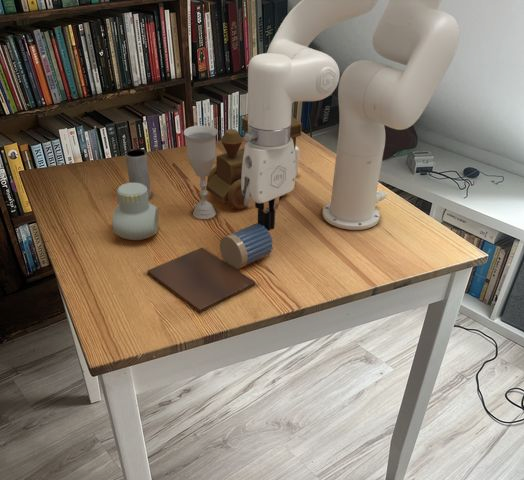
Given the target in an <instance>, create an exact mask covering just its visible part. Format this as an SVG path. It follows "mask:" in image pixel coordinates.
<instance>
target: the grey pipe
mask: <svg viewBox="0 0 524 480" xmlns="http://www.w3.org/2000/svg"><path fill="white" fill-rule="evenodd" d="M147 155H148V154H147V151H146V150H145V149H142V148H131V149H128V150H127V151H125V161H126V162H125V163H126V168H127V175H128V176H127V177H128V183H141V184H143V185H144V186H146V187H147V191H148V199H150V198H151V197H152V191H151V182H150V181H151V180H150V172H149V164H148V156H147Z"/></svg>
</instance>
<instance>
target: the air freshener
mask: <svg viewBox="0 0 524 480" xmlns="http://www.w3.org/2000/svg"><path fill="white" fill-rule="evenodd" d="M116 192H117V201H118V206H116V207H115V208H114V211H113V214H112V231H113V233H114V234H115V235H117V236H118V237H120V238H122V239H125V240H130V241H142V240H146V239H149V238H151V237H154V236H155V235H156V234H158V231H159V223H160V222H159V221H160V213H159V208H158V207H157V206H156V205H154V204H152V203H151V202H150V201H149V199H150V198H148V191H147V187H146V186H144V185H143V184H141V183H129V182H127V183H123V184H121V185H120V186H119V187H118V188H117V189H116Z"/></svg>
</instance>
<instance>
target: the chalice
mask: <svg viewBox="0 0 524 480" xmlns="http://www.w3.org/2000/svg"><path fill="white" fill-rule="evenodd" d="M218 133H219V131H218V129H217V128H215V127H214V126H210V125H204V124H203V125H200V124H199V125H193V126H189V127H187V128H185V129H184V131H183V135H184V136H185V138H186V152H187V153H186V154H187V159H188V161H189V165H190V166H191V168H192V170H193V172H194V173H195V175H196V176H197V177H198V178H200V183H199V187H200V192H199V195H200V197H201V200H200V201H199V202H197V203H196V205H195V208H194V211H193V213H192V215H193V217H194V218H196V219H200V220H209V219H212V218H214V217H215V216H216V214H217V212H216V211H215V208H214V207H213V204H212V203H211V202H210V201H208V200H207V195H208V191H207V190H206V186H207V181H206V177H208V175H209V173H210V171H211V170H212V169H213V168H214V167H213V166H214V163H215V160H216V158H217V145H216V143H217V141H216V140H217V139H216V137H217V135H218Z"/></svg>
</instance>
